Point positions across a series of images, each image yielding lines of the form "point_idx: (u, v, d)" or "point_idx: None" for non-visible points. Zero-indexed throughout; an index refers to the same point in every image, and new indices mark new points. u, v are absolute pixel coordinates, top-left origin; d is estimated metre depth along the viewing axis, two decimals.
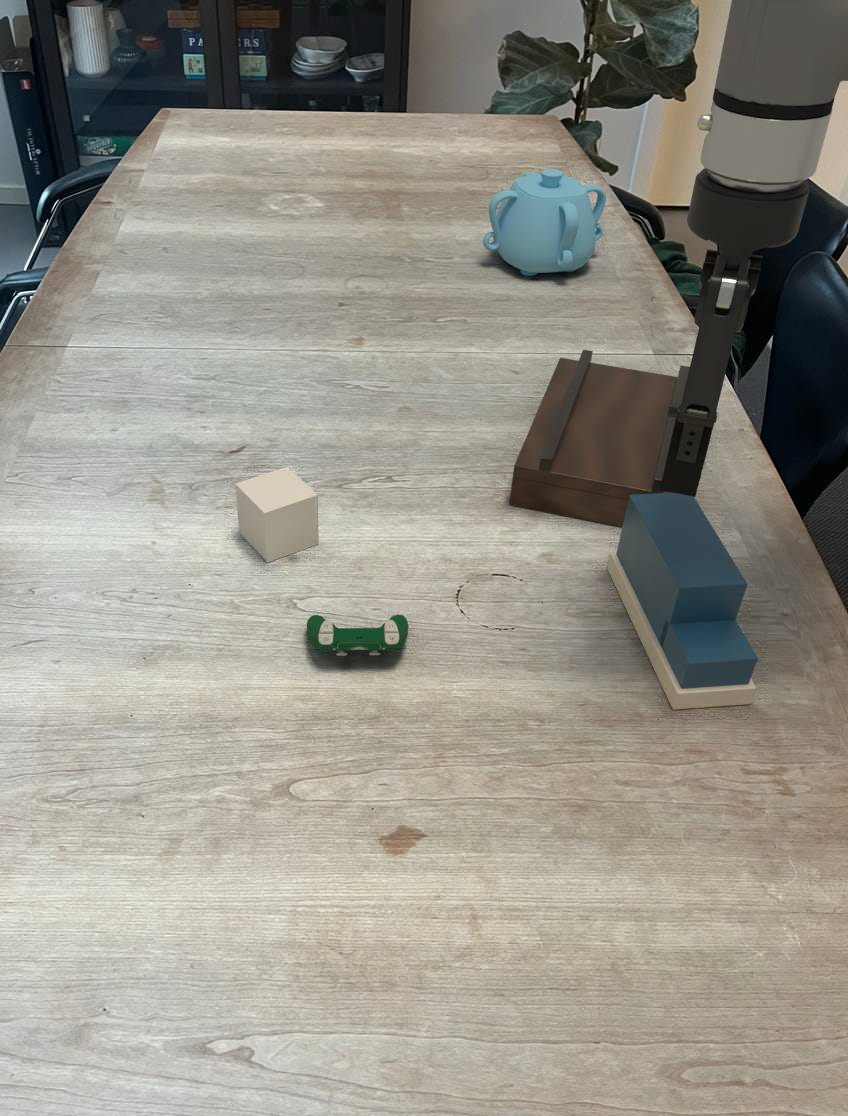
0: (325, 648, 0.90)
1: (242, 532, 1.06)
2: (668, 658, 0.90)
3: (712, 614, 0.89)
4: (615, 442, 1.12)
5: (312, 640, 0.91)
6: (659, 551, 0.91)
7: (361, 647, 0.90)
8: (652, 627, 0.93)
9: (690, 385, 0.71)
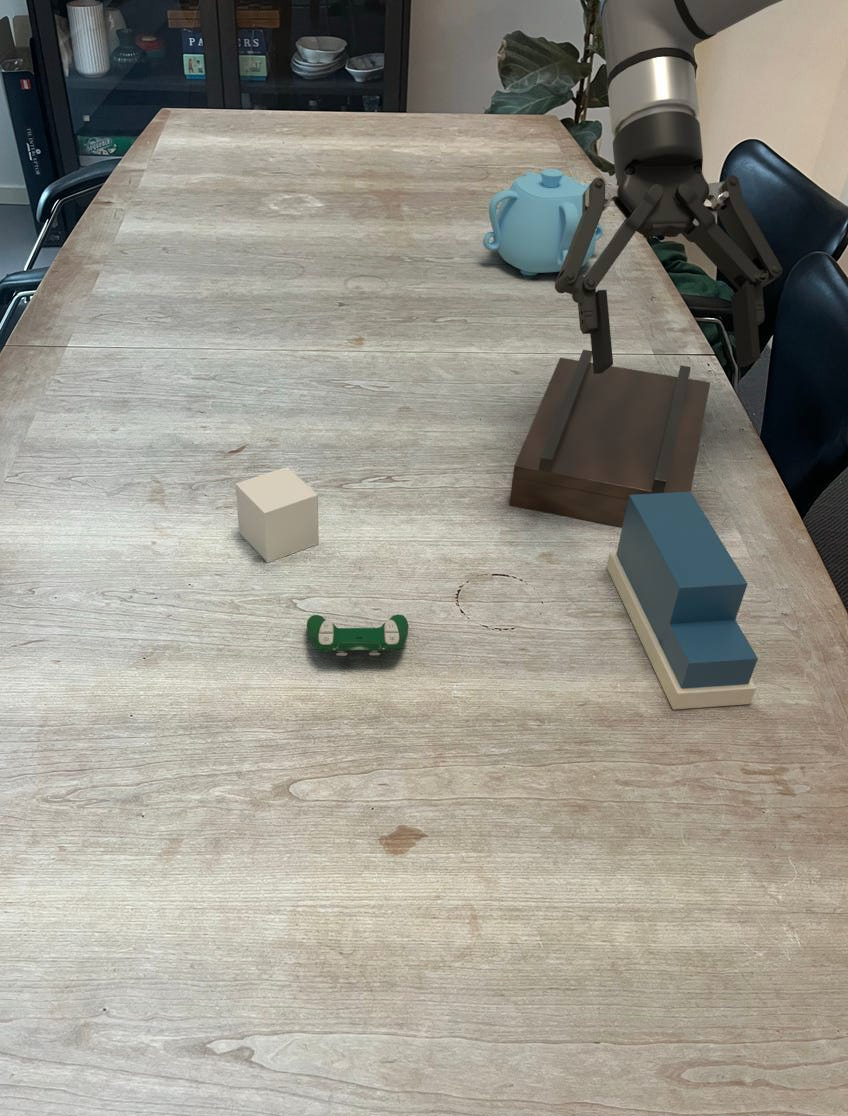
0: (325, 648, 0.90)
1: (242, 532, 1.06)
2: (668, 657, 0.90)
3: (712, 614, 0.89)
4: (615, 442, 1.12)
5: (312, 640, 0.91)
6: (659, 550, 0.91)
7: (361, 647, 0.90)
8: (652, 627, 0.93)
9: None
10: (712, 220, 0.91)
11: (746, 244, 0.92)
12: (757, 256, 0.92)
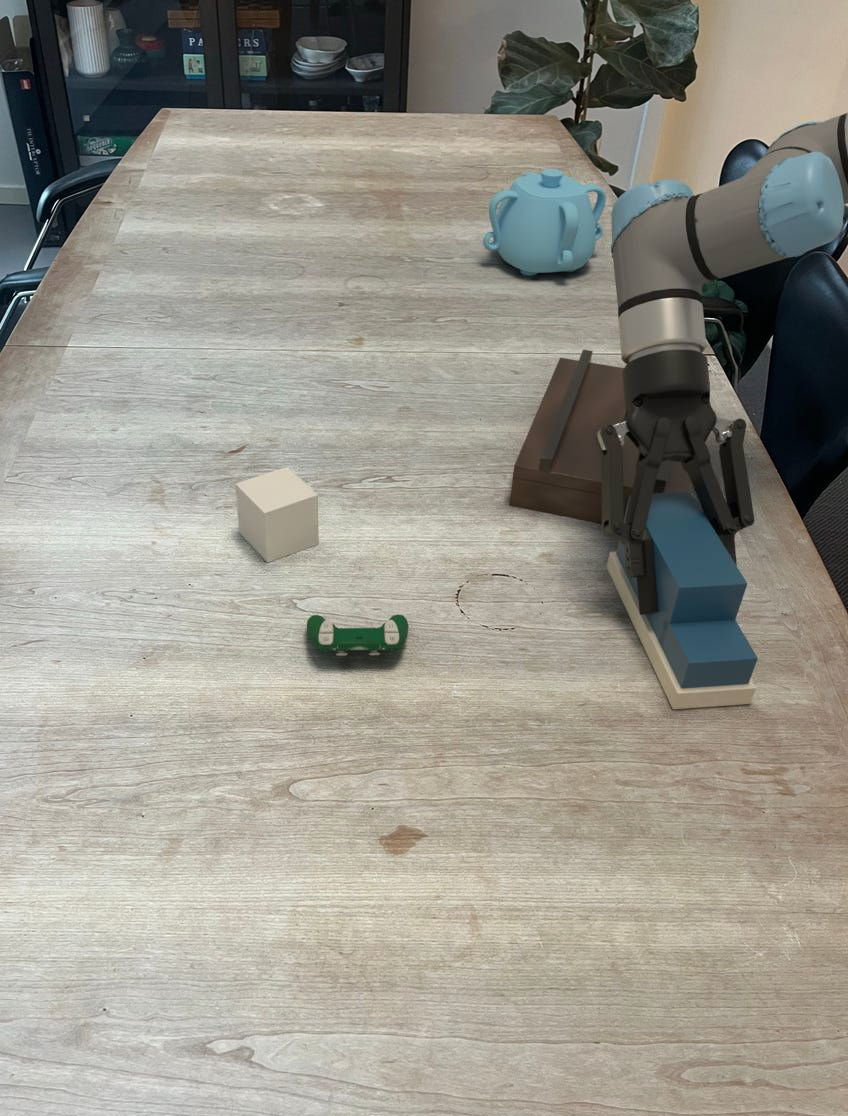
0: (325, 648, 0.90)
1: (242, 532, 1.06)
2: (668, 657, 0.90)
3: (712, 614, 0.89)
4: None
5: (312, 640, 0.91)
6: (659, 550, 0.91)
7: (361, 647, 0.90)
8: (652, 627, 0.93)
9: (602, 509, 0.94)
10: (706, 459, 0.93)
11: (731, 485, 0.94)
12: (736, 500, 0.94)
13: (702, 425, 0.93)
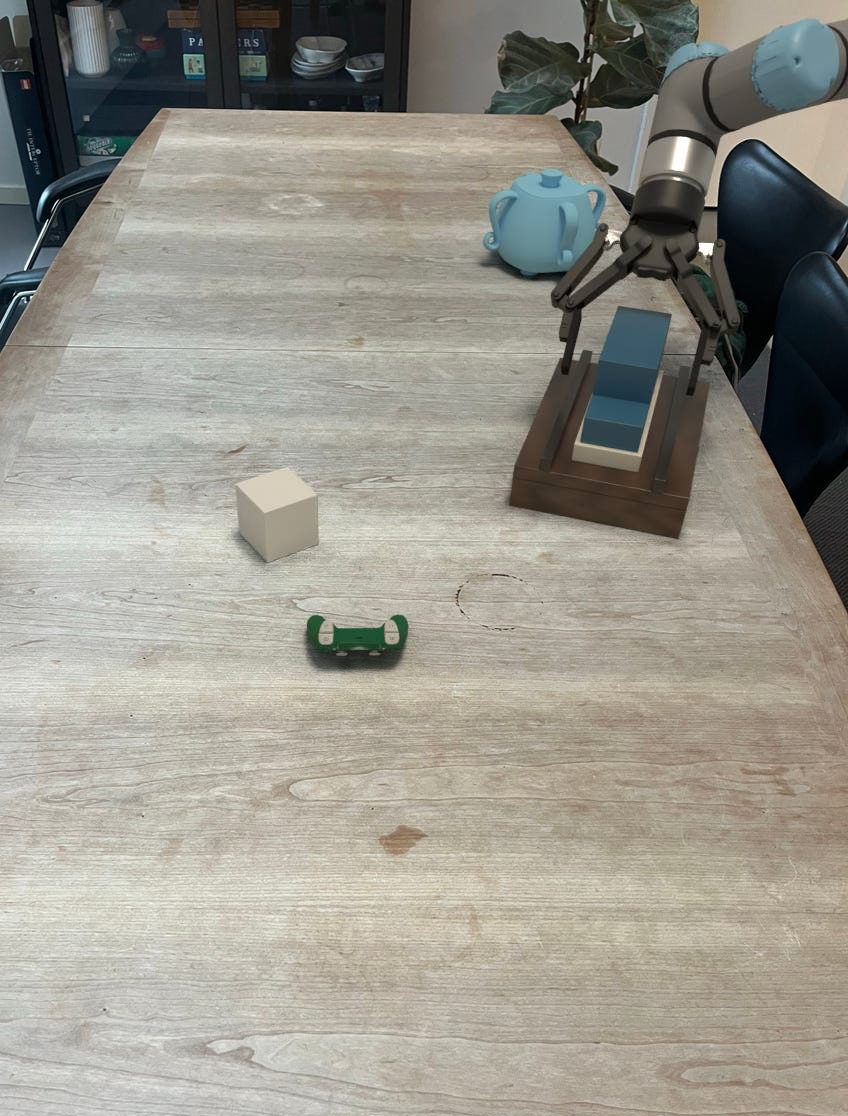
0: (325, 648, 0.90)
1: (242, 532, 1.06)
2: None
3: (628, 393, 1.08)
4: None
5: (312, 640, 0.91)
6: (606, 338, 1.10)
7: (361, 647, 0.90)
8: None
9: None
10: (688, 271, 1.10)
11: (719, 296, 1.11)
12: (723, 307, 1.10)
13: (682, 250, 1.11)
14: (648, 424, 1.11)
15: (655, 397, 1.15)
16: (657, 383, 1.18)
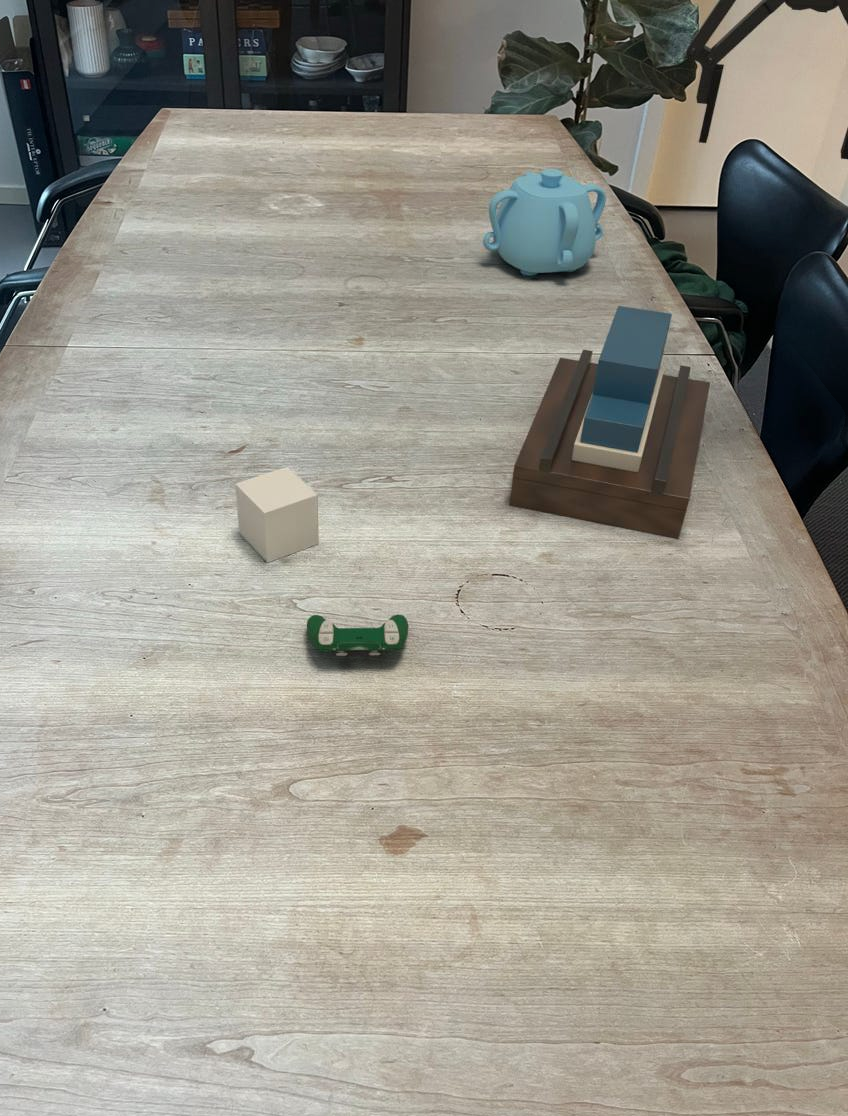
0: (325, 648, 0.90)
1: (242, 532, 1.06)
2: None
3: (628, 393, 1.08)
4: None
5: (312, 640, 0.91)
6: (606, 338, 1.10)
7: (361, 647, 0.90)
8: None
9: None
10: None
11: None
12: None
13: None
14: (648, 424, 1.11)
15: (655, 397, 1.15)
16: (657, 383, 1.18)
